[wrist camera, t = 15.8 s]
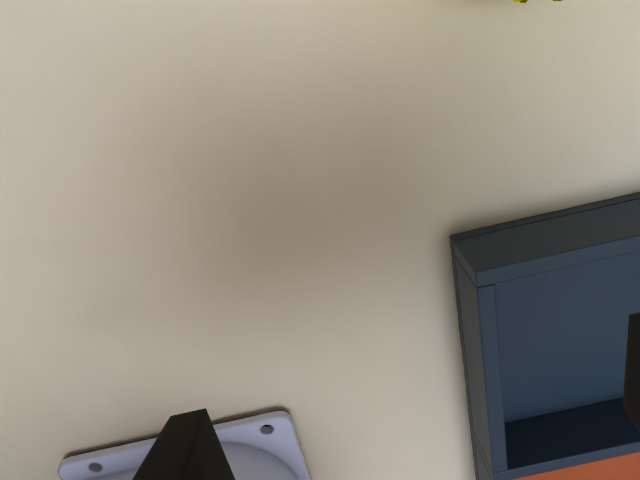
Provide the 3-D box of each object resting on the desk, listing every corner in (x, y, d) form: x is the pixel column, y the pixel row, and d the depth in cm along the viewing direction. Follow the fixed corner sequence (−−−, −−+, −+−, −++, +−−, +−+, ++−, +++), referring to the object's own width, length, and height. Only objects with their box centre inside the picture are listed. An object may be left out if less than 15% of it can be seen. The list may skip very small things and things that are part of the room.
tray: (673, 519, 26) (712, 570, 24) (484, 559, 27) (505, 614, 24) (725, 172, 18) (792, 200, 16) (449, 235, 18) (475, 272, 16)
